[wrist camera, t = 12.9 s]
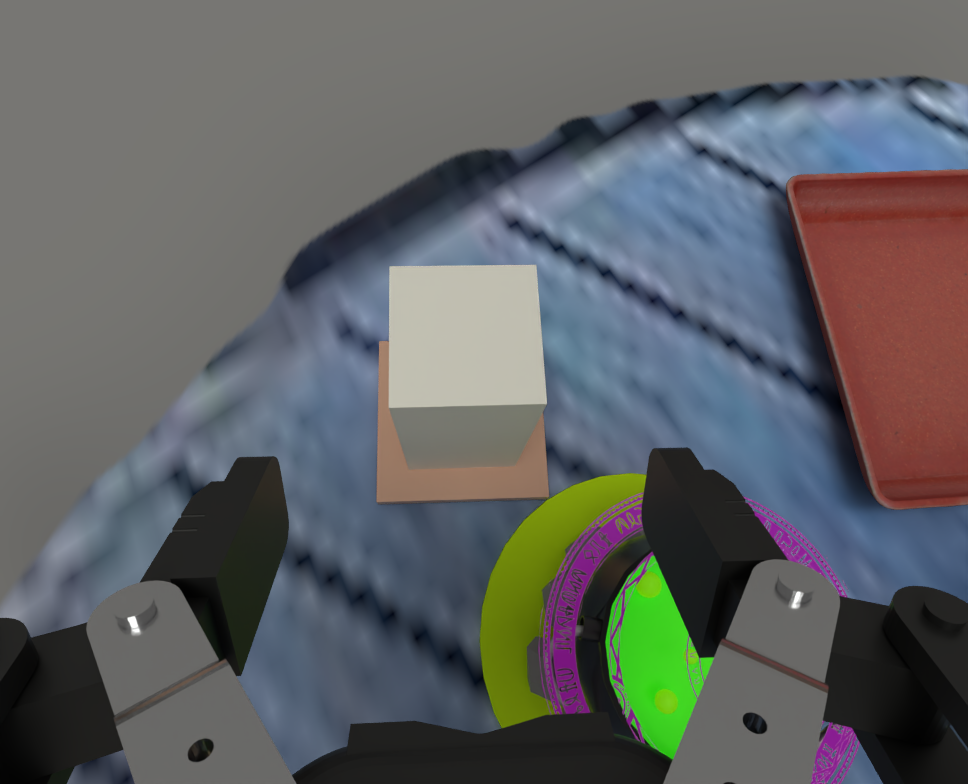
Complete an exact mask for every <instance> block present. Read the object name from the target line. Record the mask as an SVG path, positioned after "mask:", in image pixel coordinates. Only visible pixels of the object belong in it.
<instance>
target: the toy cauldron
mask: <svg viewBox="0 0 968 784" xmlns="http://www.w3.org/2000/svg"><path fill="white" fill-rule="evenodd" d="M645 481H646V475H644V474H633V473H628V474H619V475H610V476H601V477H597V478H594V479H591V480H588V481H585V482H582V483H579V484H575V485H572V486H571V487H569V488H567V489H565V490H563V491H562V492H560V493H558V494H556V495H555V496H553V497H551V498H549V499H548V500H546V501H545V502H544V503H543V504H542V505H540V506H539V507H538V508H537V509H536V510H535V511H534V512H532V513H531V514H530V515H529V516H528V517H527V518H526V519H525V520H523V522H522V523H521V524H520V526H519V527H518V528H517V530H516V531H515V532H514V534H513V535H512V536H511V538H510V539H509V540H508V542H507V543H506V544H505V546H504V548H503V550H502V552H501V554H500V556H499V558H498V560H497V562H496V565H495V567H494V569H493V571H492V573H491V575H490V579H489V583H488V587H487V590H486V594H485V598H484V602H483V605H482V616H481V629H480V650H481V659H482V669H483V678H484V681H485V684H486V688H487V691H488V694H489V698H490V701H491V705H492V708H493V711H494V714H495V716H496V718H497V720H498V722H499V724H500V726H501V728H505V727H508V726H511V725H515V724H518V723H521V722H524V721H528V720H531V719H534V718H537V717H541V716H544V715H554V714H575V713H596V712H608V714H609V718H610V722H611V726H612V730H613V733H614V734H618V735H622V736H625V737H628V738H632V739H635V740H638V741H640V742H642V743H644V744H646V745H649V746H651V747H653V748H655V749H656V750H658V751H660V752H662V753H663V754H665V755H667V756H668V757H670V758H671V759H672V760H673V758H674V756H675V753H676V751H677V748H678V746H679V743H680V741H681V738H682V736H683V733H684V731H685V728H686V726H687V723H688V721H689V718H690V716H691V713H692V711H693V708H694V706H695V703H696V701H697V698H698V696H699V694H700V691H701V689H702V686H703V684H704V681H705V679H706V676H707V674H708V671H709V669H710V666H711V664H712V661H713V659H714V657H711V658H699V656H698V654H697V652H696V650H695V647H694V645H693V643H692V641H691V638H690V636H689V634H688V631H687V629H686V627H685V625H684V622H683V620H682V618H681V616H680V613H679V611H678V609H677V606H676V604H675V602H674V600H673V597H672V595H671V593H670V591H669V588H668V586H667V584H666V581H665V579H664V577H663V575H662V572H661V570H660V568H659V566H658V563H657V561H656V559H655V556H654V554H653V552H652V550H651V547H650V545H649V543H648V541H647V538H646V536H645V533H644V530H643V525H642V516H641V509H642V501H643V494H644V488H645ZM743 497H744V496H743ZM744 498H745V499H747V500H749V501H752V502H754V503H756V504H758V505H760V506H761V507H763V508H765V509H767V510H769V511H770V512H772V513H773V514H775V515H776V516H778V517H779V518H781V519H782V520H783V521H785V522H786V523H787V524H789V525H790V526H791V527H792V528H794V527H793V526H792V525H791V524H790V523H788V522H787V521H786V520H785V519H783V518H782V517H780V516H779V515H777V514H776V513H774V512H773V511H771V510H770V509H768V508H766V507H765V506H763V505H761V504H759V503H757V502H755V501H753V500H751V499H748V498H746V497H744ZM745 503H746V502H745ZM748 504H749V506H751V507H754V508H755V509H757V510H759V511H761V512H763V513H765V514H766V515H768V516H770V517H771V518H773V519H774V520H776V521H777V522H779V523H780V524H781V525H783V526H784V527H785V528H786V529H788V530H789V531H790V532H791V533H792V534H794V535H795V536H796V537H797V538H798V539H799V540H800V541H801V542H802V543H803V544H804V545H805V546H806V547H807V548H808V549H809V550H810V551H811V553H812V554H813V555H814V556H815V557H816V559H817V560H818V561H819V562H820V564H821V565H822V566H823V568H824V569H825V571H826V572H827V573H828V575H829V577H830V578H831V580H832V582H833V583H834V585H835V587H836V589H837V591H838V593H839V595H840V596H843V597H845V596H846V597H847V595H846V593H845V591H844V589H843V587H842V586H841V584H840V582H839V580H838V579H837V577H836V575H835V574H834V572H833V571H832V569H831V568H830V566H829V565H828V563H827V562H826V561H825V559H824V558H823V557H822V555H821V554H820V553H819V552H818V550H817V549H816V548H815V547H814V546H813V545H812V544H811V543H810V542H809V541H808V540H807V539H806V538H805V537H804V536H803V535H802V534H801V533H800V532H799V531H798V530H797V529H796V528H794V529H795V530H796V531H797V532H798V533H799V534H800V535H801V536H802V537H803V538H804V539H805V540H807V542H808V543H809V544H810V545H811V546H812V547H813V548H814V549H815V550H816V552H817V553H818V554H819V555H820V556H821V558H822V559H823V560H824V561H825V563H826V564H827V565H825V566H824V564H823V562H824V561H820V559H819V558H820V556H819V557H817V555H816V554H815V553H816V552H813V551H812V549H813V548H809V546H808V543H807V544H806V543H805V542H804V539H801V538H800V535H796V531H794V532H793V531H792V528H790V529H789V528H788V527H787V525H784V524H783V521H781V522H780V521H779V520H778V518H774V517H773V515H772V516H771V515H770V514H769V512H767V513H766V512H764V509H763V510H761V509H759V507H758V508H757V507H755V506H754V505H751V504H750V502H749V503H748ZM754 513H755V516H757V517H758V518H759V520H760V521H761V522H762V524H763V525H764V524H765V522H766V521H767V520H768V521H769V522H770V523H771V526H770V530H769V533H770V535H771V536H772V538H773V539H774V537H775V536H776V534H777V532H778V531H779V530H780V531H781V532H782V533H783V535H782V537H781V538H780V540H779V541H778V542H777V540H778V539H779V537H780V536H781V533H780V532H779V533H778V535H777V537H776V538H775V542H776V543H777V545H778V546H780V549H781V550H782V552H783V553H784V554H785V556H786V557H787V559H788V560H789V561H793V562H796V563H800V564H801V561H800V562H798V561H799V560H800V558H801V559H802V557H803V556H804V555H805V554H807V555H806V557H805V559H803V562H802V565H803V563H804V562H806V563H807V561H809V560H811V559H812V561H811V562H810V563H807V564H808V565H807V567H809V568H811V569H813V570H815V571H817V572H818V573H821V575H823V576H824V577H825V578H826V579H827V577H826V576H825V574H824V573H823V571H822V570H821V568H820V567H819V565H818V564H817V563H816V562H815V560H814V559H813V558H812V557H811V555H810V554H809V553H808V552H807V551H806V550H805V549H804V548H803V547H802V546H801V545H800V544H799V543H798V542H797V541H796V540H795V539H794V538H793V537H792V536H791V535H790V534H788V533H787V532H786V531H785V530H784V529H782V528H781V527H780V526H778V525H777V524H775V523H774V522H773V521H771V520H769V519H768V518H766V517H764V516H763V515H761V514H759V513H757V512H755V511H754ZM767 524H768V522H767V523H766V525H765V528H766V526H767ZM768 529H769V525H768V527H767V531H768ZM788 536H790V538H791V539H792V546H791V547H790V548H789V547H788V546H790V544H791V540H790V538H789V537H788ZM782 541H784V542H785V543H786V544H787V545H788V546H787V547H786V545H785V544H784V543H783V544H781V543H782ZM795 546H800V549H799V551H798V553H797V554H796V552H797V550H798V548H799V547H797V548H796V549H795V550H794V551H792V550H793V549H794V548H795ZM783 549H784V551H783ZM791 551H792V552H793V553H792V554H796V555H794V556H792V555H791ZM787 554H788V555H787ZM804 565H805V566H806V564H804ZM826 566H828V567H829V569H830V570H831V571H832V573H833V575H831V574H830V570H827V569H826ZM833 576H835V578H836V580H834V579H833ZM837 581H838V583H839V585H837V584H836V582H837ZM842 581H843V580H842ZM844 584H845V583H844ZM839 586H841V588H842V590H839ZM845 586H846V585H845ZM846 588H847V587H846ZM847 590H848V589H847ZM842 591H843V592H844V594H845V595H842V593H841V592H842ZM823 723H824V721H822V724H823ZM841 727H842V728H843V729H844V730H841V732H842V734H841V733H840V734H838V731H839V730H840V729H841ZM849 730H850V731H849ZM846 731H849V732H848V733H847V732H846ZM851 734H852V735H851ZM853 735H854V738H853ZM850 736H851V737H850ZM852 738H853V741H852V744H851V746H850V749H849V752H848V754H847V756H846V758H845V761H844V762H843V765H842V766H841V768H840V770H839V772H838V773H837V775H836V777H835V778H834V780H833V781H832V783H831V784H834V783H835V784H836V783H837V778H841V777H840V773H843V772H842V770H843V768H845V769H846V766H845V764H846V763H849V762H848V761H847V760H848V758H849V757H851V756H850V753H851V752H853V750H852V748H853V746H855V745H854V743H855V741H857V739H856V734H854V731H853V729H852V728H850V727H846V726H842V725H838V724H834V723H829V725H828V726H827V727H825V728H824V729H823V730H822V731H821V732H820V737H819V742H818V748H817V749H818V750H817V753H816V758H815V763H814V765H815V764H816V770H817V772H815V766H814V768H813V771H814V772H815V773H813V774H812V780H813V781H812V782H811V784H826V783H827V782H828V780H829V779H830V778H831V776H832V775H833V773H834V771H835V770H836V768H837V766H838V764H839V763H840V760H841V759H842V756H843V755H844V753H845V751H846V749H847V747H848V745H849V744H850V742H851V740H852ZM849 739H850V740H849ZM825 743H827V744H826V745H827V746H828V747H830V748H831V749H833V751H832V750H830V749H829V748H827V747H826V746H825V745H824V744H825ZM859 743H860V742H859V741H858V744H857V747H856V750H855V753H854V755H853V758H852V759H851V762H850V764H849V766H848V768H847V770H846V772H845V773H844V775H843V777H842V779H841V780H840V782H839V783H838V784H841V782H842V781H843V779H844V777H845V775H846V774H847V772H848V770H849V768H850V766H851V764H852V762H853V760H854V757H855V755H856V752H857V749H858V747H859ZM824 747H825V748H826V749H828V750H829V751H830V752H832V753H833V752H834V751H835V750H836V752H837V753H835V757H834V756H833V759H832V758H831V757H832V753H831V754H830V753H829V752H828V751H826V750H825V749H824V750H823V748H824ZM821 754H822V755H823V756H825V757H826V759H828V760H829V761H830V762H831V763H832V764H833V765H831V764H830V763H829V762H828V761H827V760H826V759H825V760H823V758H822V755H821ZM839 755H840V757H839ZM818 759H821V760H823V761H826V764H827V766H828V768H826V766H825V765H824V764H823V763H822V762H821V761H820V760H819V763H820V764H821V765H822V766H823V767H825V768H826V769H823V768H822V767H821V766H820V765H819V764H818V762H817V760H818ZM822 773H823V774H824V775H823V777H822V775H821V774H822ZM816 776H817V779H818V780H817V781H816ZM823 779H824V780H825V783H821V782H820V781H823Z"/></svg>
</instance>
